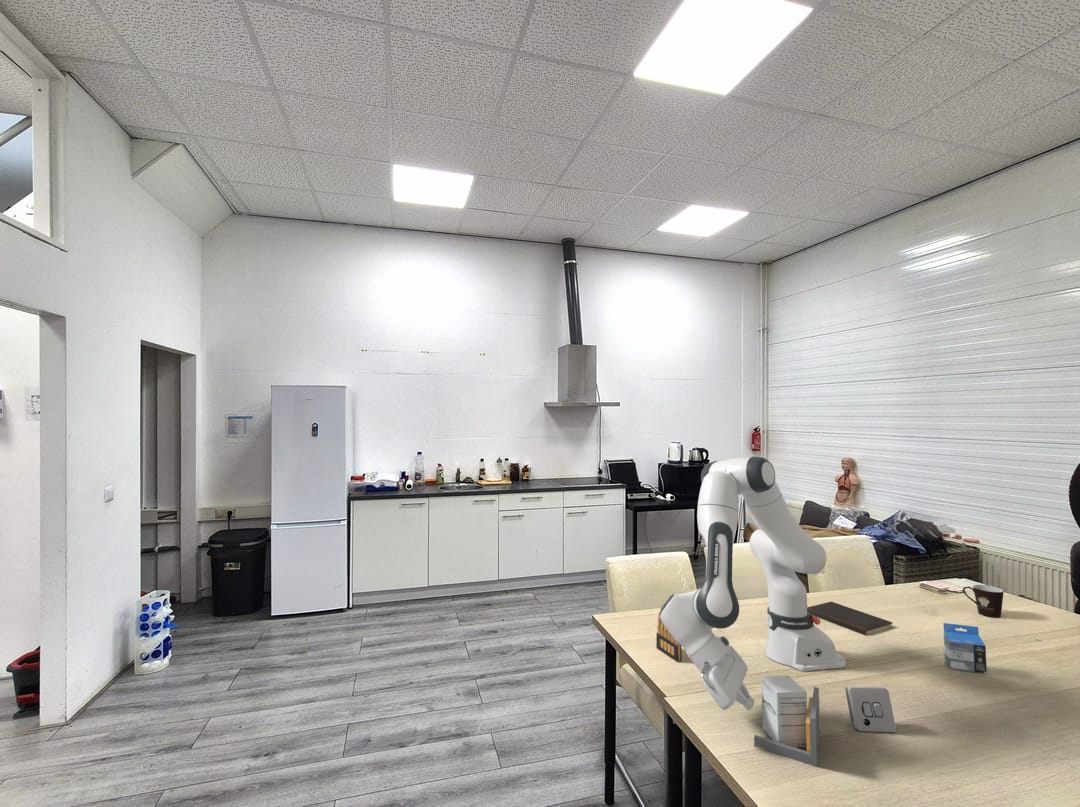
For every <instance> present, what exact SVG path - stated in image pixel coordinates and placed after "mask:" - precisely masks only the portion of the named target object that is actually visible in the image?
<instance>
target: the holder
mask: <svg viewBox="0 0 1080 807" xmlns="http://www.w3.org/2000/svg"><path fill="white" fill-rule="evenodd" d="M812 698H813V699H812V706H811V714H810V733H811V753H810V752H807V750H804V749H801V748H799V747H796V748H794V747H791V746H788V745H785V744H782V743H779V742H776V741H773V740H772V739H769V738H766V737H762V736H759V735H757V734H754V736H753V743H754V744H753V746H754V748H755V747H756V748H759V749H761V748H762V749H761V750H764V749H765V751H767V750H768V751H769V752H770V751H771V753H774V754H776V753H777V754H776V755H781V756H783V757H786V758H788V759H792V760H795V761H798V762H801V763H804V764H808V765H810V766H813V767H815V768H816V767H818V760H819V759H818V758H819V749H820V748H819V746H820V737H821V719H820V718H821V715H820V714H821V712H820V711H821V710H820V709H821V708H820V688H819V687H817V686H816V687H815V686H814V687H813V694H812ZM768 751H767V752H768Z"/></svg>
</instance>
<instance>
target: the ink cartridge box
mask: <svg viewBox="0 0 1080 807" xmlns="http://www.w3.org/2000/svg"><path fill="white" fill-rule="evenodd" d="M957 629H958V630H957ZM959 629H962V630H959ZM964 630H966V631H964ZM979 633H980V631H979V627H978V626H974V625H973V626H972V625H964V624H956V623H946V622H943V654H944V655H943V656H944V657H943V658H944V664H945V665H946V666H947V667H948V668H949V669H950V670H955V671H962V672H970V673H978V674H985V675H987V674H988V670H987V669H988V667H987V650H986V649H987V647H986V644H985V643H984V641H983V639H982V638H981V636H980V635H979Z"/></svg>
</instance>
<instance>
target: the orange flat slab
mask: <svg viewBox="0 0 1080 807" xmlns="http://www.w3.org/2000/svg"><path fill="white" fill-rule="evenodd" d="M812 699H813V696H812V697H811V696H809V698H808V702H807V717H806V745H807V747H806V751H807V752H810V753H811V733H810V714H811V706H812Z"/></svg>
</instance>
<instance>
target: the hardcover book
mask: <svg viewBox="0 0 1080 807" xmlns="http://www.w3.org/2000/svg"><path fill="white" fill-rule="evenodd" d="M807 612H809V613H810V614H812V615H813V616H816V617H817V618H819V619H820V620H823V621H827V622H829V623H832V624H835V625H837V626H840V627H842V628H845V629H848V630H850V631H853V632H855V633H858V634H861V635H864V636H867V635H870V634H871V635H872V634H874V633H877V632H880V631H884V630H886V629H890V628H892V624H893V622H892V621H890V620H886V619H884V618H881V617H878V616H875V615H872V614H870V613H865V611H864V612H863V611H861V610H858V609H854V608H851V607H848V606H846V605H842V604H839V603H837V602H834V601H827V602H824V603H819V604H815V605H812V606H807Z"/></svg>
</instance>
